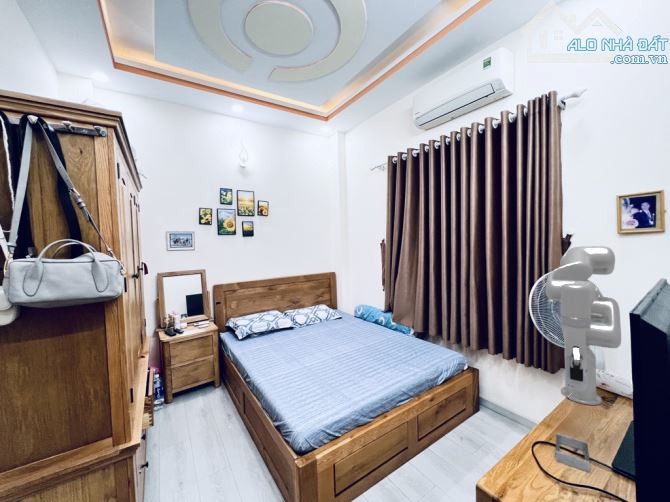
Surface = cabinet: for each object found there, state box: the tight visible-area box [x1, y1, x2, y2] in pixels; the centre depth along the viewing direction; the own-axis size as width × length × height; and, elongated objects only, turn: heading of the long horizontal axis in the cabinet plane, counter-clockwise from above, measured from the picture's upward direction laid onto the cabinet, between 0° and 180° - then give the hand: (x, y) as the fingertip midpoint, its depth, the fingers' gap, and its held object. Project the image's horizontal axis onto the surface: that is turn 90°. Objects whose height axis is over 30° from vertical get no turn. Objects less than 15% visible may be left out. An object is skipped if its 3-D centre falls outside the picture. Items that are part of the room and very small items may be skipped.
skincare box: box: [564, 347, 588, 392], centre depth 94 cm, size 6×4×12 cm
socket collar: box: [555, 432, 591, 473], centre depth 85 cm, size 11×7×2 cm
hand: (576, 375), depth 94 cm, fingers closed on skincare box, 6 cm apart
